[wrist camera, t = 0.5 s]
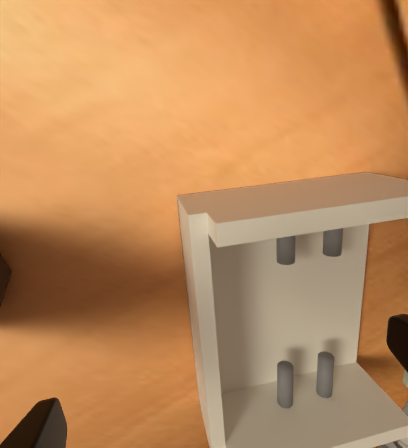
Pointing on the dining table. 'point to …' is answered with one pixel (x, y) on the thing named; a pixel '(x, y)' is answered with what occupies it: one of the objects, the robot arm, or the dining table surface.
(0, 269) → the beer bottle
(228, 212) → the tray
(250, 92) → the dining table surface
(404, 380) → the shelf board
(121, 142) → the dining table surface
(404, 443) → the skyscraper
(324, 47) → the dining table surface
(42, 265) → the dining table surface
